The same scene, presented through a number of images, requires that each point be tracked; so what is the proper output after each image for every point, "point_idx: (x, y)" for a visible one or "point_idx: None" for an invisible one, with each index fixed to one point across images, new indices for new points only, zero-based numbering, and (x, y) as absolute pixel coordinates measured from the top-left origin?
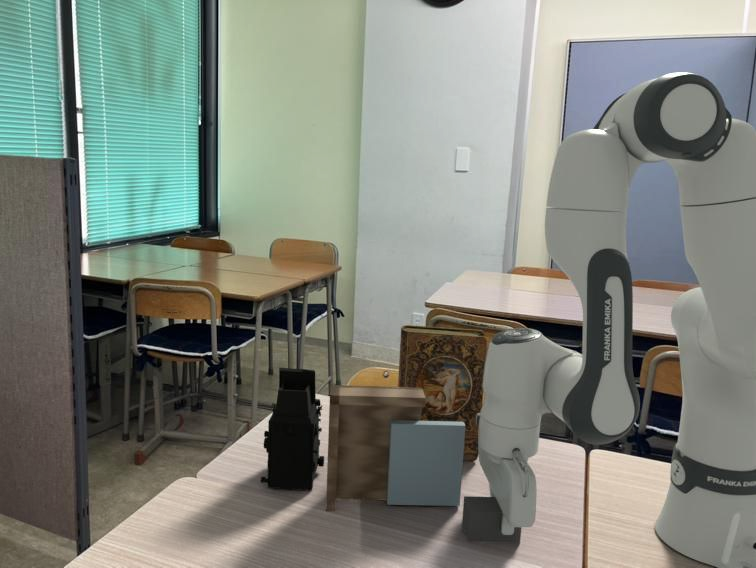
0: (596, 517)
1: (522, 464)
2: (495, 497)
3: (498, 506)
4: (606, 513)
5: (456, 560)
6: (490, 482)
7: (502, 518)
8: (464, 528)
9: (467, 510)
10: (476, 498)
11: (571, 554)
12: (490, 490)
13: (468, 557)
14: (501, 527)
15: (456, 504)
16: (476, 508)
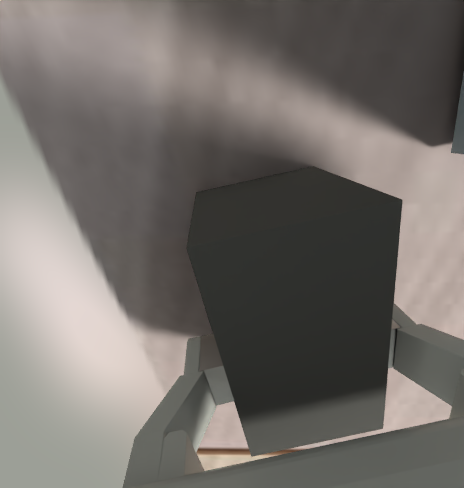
0: None
1: None
2: (382, 366)
3: (291, 381)
4: None
5: (45, 150)
6: (446, 482)
7: (180, 397)
8: (266, 180)
9: (255, 220)
10: (370, 280)
11: (214, 433)
12: (452, 349)
13: (90, 199)
14: (195, 351)
15: (459, 137)
16: (244, 285)
